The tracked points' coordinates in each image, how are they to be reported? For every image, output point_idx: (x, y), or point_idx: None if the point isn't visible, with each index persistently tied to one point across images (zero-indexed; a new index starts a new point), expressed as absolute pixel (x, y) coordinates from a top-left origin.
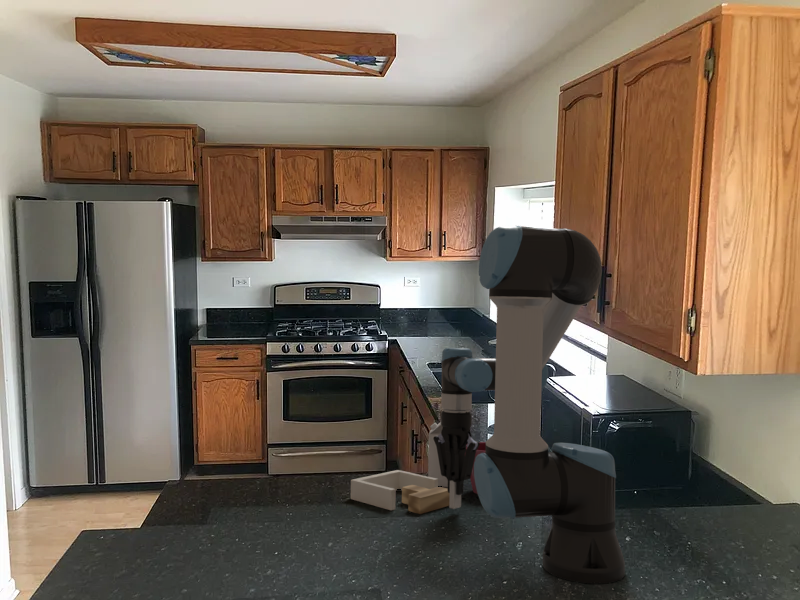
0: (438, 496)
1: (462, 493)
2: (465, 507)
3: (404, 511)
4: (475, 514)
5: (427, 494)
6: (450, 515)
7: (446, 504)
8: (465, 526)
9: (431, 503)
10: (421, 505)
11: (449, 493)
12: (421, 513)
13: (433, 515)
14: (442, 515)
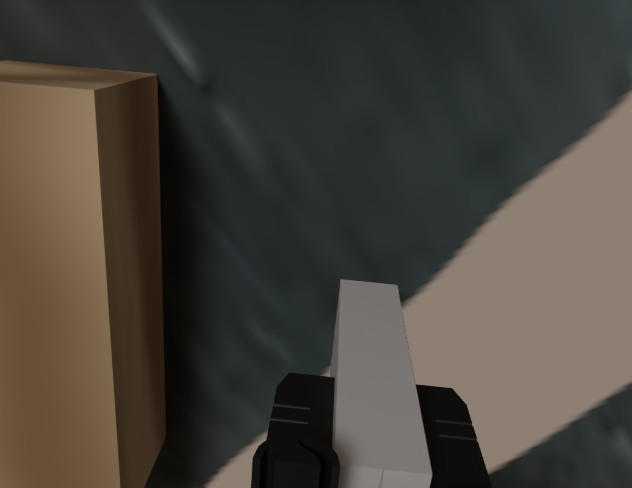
0: (123, 304)
1: (456, 401)
2: (312, 54)
3: None
4: (504, 195)
5: (79, 427)
6: None
7: (154, 149)
8: (571, 477)
9: (143, 363)
10: (146, 472)
11: (113, 123)
12: (165, 427)
13: (254, 410)
14: None
